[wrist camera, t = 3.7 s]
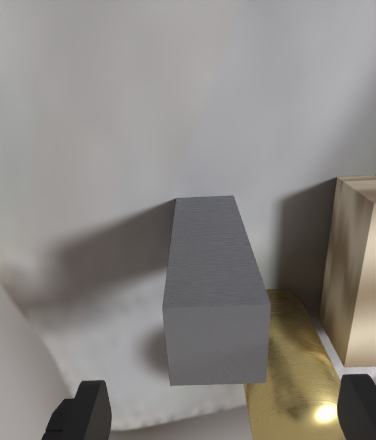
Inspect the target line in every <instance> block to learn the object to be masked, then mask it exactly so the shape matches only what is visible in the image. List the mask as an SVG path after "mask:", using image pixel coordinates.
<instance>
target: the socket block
mask: <svg viewBox="0 0 376 440" xmlns="http://www.w3.org/2000/svg"><path fill="white" fill-rule="evenodd" d="M319 320H320V322H321V323H322V325H323V327H324V329H325V331H326V333H327V335H328V337H329V339H330V341H331V343H332V345H333V347H334V349H335V350H336V352H337V354H338V356H339V358H340V360H341V362H342V364H343V366H344V367H371V366H376V175H370V176H349V177H337V183H336V190H335V198H334V206H333V213H332V221H331V229H330V236H329V244H328V252H327V259H326V267H325V275H324V282H323V290H322V298H321V305H320V313H319Z"/></svg>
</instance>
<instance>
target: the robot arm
mask: <svg viewBox="0 0 376 440" xmlns="http://www.w3.org/2000/svg"><path fill="white" fill-rule="evenodd" d="M337 415H338V420H339V424H340V427H341V429H342V431H343V434H344V436H345V439H346V440H376V385H375V383H374V382H373V380H372V378H371V377H370V376H369V375H368V374H348V375H343V376H342V379H341V385H340V391H339V397H338V402H337ZM111 419H112V414H111V407H110V402H109V397H108V392H107V387H106V383H105V381H104V380H96V381H82V382H81V383H80V385H79V388H78V390H77V393H76V396H75V398H74V399H64V400H63V401H62V403H61V404H60V405H59V406H58V407H57V409H56V410H55V411H54V412H53V413H52V416H51V418H50V421H49V423H48V425H47V428H46V432H45V434H44V435H43V437H42V440H108V438H109V434H110V429H111Z"/></svg>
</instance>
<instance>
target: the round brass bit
mask: <svg viewBox="0 0 376 440" xmlns="http://www.w3.org/2000/svg"><path fill="white" fill-rule="evenodd" d="M266 292H267V295H268V298H269V301H270V304H271V308H270V326H269V344H268V362H267V379H266V383H245V384H244V390H245V396H246V402H247V407H248V414H249V420H250V426H251V432H252V438H253V440H346V439H345V436H344V434H343V431H342V429H341V427H340V424H339V420H338V415H337V402H338V397H339V391H340V385H341V381H340V379H339V377H338V375H337V373H336V371H335V369H334V367H333V364H332V362H331V360H330V358H329V356H328V354H327V352H326V350H325V348H324V346H323V344H322V342H321V340H320V338H319V336H318V333H317V331H316V329H315V327H314V325H313V323H312V321H311V319H310V317H309V315H308V313H307V311H306V309H305V307H304V305H303V303H302V302H301V300H300V299H299V298H297V297H296V296H295V295H293V294H291V293H289V292H286V291H283V290H273V289H271V290H266Z"/></svg>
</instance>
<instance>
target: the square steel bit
mask: <svg viewBox="0 0 376 440" xmlns="http://www.w3.org/2000/svg"><path fill="white" fill-rule="evenodd" d="M270 308H271V304H270V301H269V298H268V295H267V292H266V289H265V286H264V283H263V280H262V277H261V274H260V272H259V269H258V266H257V263H256V260H255V257H254V254H253V251H252V248H251V245H250V242H249V239H248V236H247V234H246V231H245V228H244V225H243V222H242V219H241V216H240V213H239V210H238V207H237V204H236V201H235V198H234V196H215V197H194V198H176V204H175V212H174V220H173V228H172V236H171V244H170V251H169V259H168V267H167V275H166V283H165V291H164V299H163V307H162V310H163V320H164V330H165V340H166V349H167V359H168V369H169V378H170V386H175V385H210V384H245V383H266V379H267V362H268V344H269V326H270Z"/></svg>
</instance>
